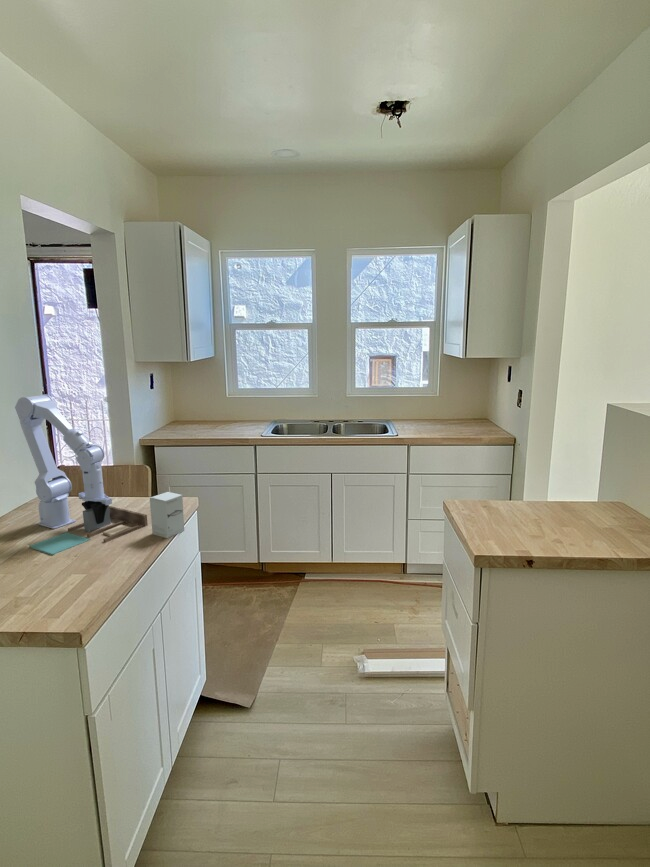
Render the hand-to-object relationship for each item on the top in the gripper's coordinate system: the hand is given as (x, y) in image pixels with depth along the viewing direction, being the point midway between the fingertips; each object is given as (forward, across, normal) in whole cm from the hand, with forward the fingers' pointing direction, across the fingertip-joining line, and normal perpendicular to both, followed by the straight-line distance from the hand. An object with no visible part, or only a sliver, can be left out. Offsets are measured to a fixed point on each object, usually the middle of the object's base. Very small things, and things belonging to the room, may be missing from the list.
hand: (97, 522), depth 160 cm
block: (+2, 0, 0) cm, 2 cm away
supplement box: (+2, +24, +8) cm, 26 cm away
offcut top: (+2, +9, 0) cm, 9 cm away
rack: (+2, +4, 0) cm, 4 cm away
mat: (+2, +2, -14) cm, 14 cm away
